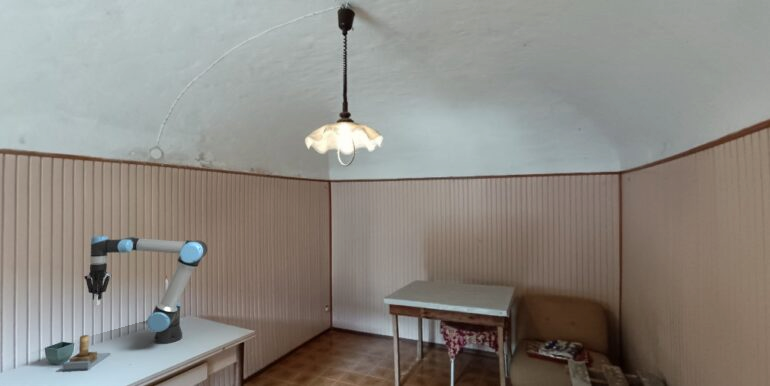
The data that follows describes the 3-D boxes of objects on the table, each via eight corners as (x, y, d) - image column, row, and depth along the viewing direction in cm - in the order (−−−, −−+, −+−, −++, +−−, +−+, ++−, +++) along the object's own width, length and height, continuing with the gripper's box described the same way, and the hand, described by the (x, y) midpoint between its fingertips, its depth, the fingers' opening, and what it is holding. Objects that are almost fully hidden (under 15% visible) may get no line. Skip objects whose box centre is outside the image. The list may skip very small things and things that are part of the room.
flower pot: (56, 367, 184) (57, 349, 184) (43, 365, 186) (43, 347, 186) (74, 359, 193) (75, 342, 193) (61, 358, 194) (62, 341, 195)
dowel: (89, 360, 188) (90, 334, 188) (85, 363, 184) (86, 337, 185) (81, 360, 187) (82, 335, 188) (77, 363, 184) (78, 337, 184)
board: (110, 354, 199) (110, 347, 199) (87, 370, 181) (87, 362, 181) (87, 356, 198) (88, 348, 198) (62, 371, 179) (63, 363, 179)
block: (96, 359, 190) (97, 351, 190) (86, 365, 182) (87, 357, 183) (80, 360, 189) (80, 352, 189) (69, 366, 181) (69, 358, 181)
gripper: (115, 262, 209) (113, 303, 208) (90, 262, 207) (88, 303, 206) (107, 264, 202) (105, 306, 201) (81, 264, 200) (79, 307, 199)
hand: (96, 305), depth 204 cm, fingers closed
